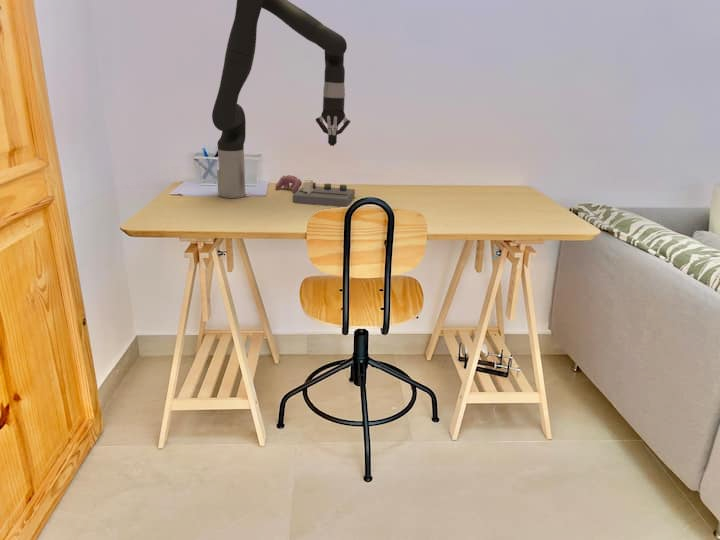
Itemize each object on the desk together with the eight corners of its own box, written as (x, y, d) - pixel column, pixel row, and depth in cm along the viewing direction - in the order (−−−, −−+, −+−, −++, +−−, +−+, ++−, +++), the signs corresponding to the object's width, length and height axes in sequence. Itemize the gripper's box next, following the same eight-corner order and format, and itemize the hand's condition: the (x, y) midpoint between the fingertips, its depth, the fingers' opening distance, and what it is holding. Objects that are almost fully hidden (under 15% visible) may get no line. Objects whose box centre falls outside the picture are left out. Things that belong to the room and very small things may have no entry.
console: (292, 202, 201) (292, 190, 199) (304, 192, 215) (304, 180, 213) (346, 206, 198) (347, 194, 196) (354, 196, 212) (354, 184, 211)
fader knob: (303, 191, 202) (303, 181, 201) (306, 188, 206) (306, 178, 205) (309, 192, 202) (309, 182, 201) (312, 189, 206) (312, 179, 205)
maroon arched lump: (300, 196, 216) (304, 178, 216) (293, 192, 212) (298, 175, 212) (280, 192, 221) (284, 175, 221) (273, 188, 217) (278, 171, 217)
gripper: (313, 95, 192) (312, 145, 199) (350, 97, 190) (348, 148, 197) (318, 93, 199) (317, 142, 205) (354, 96, 197) (352, 145, 204)
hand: (332, 145), depth 201 cm, fingers closed
